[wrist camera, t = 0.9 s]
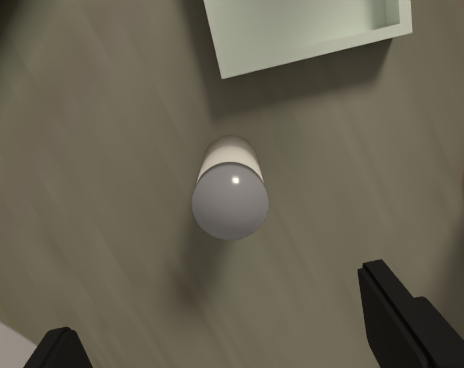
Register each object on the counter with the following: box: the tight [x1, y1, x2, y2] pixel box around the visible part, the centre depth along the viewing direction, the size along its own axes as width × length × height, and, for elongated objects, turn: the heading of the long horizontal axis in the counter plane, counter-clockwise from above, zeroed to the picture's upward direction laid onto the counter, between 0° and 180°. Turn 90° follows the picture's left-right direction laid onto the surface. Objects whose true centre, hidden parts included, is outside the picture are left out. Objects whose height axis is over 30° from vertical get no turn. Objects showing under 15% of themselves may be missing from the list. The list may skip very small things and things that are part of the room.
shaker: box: [192, 135, 268, 240], centre depth 26 cm, size 5×5×11 cm
